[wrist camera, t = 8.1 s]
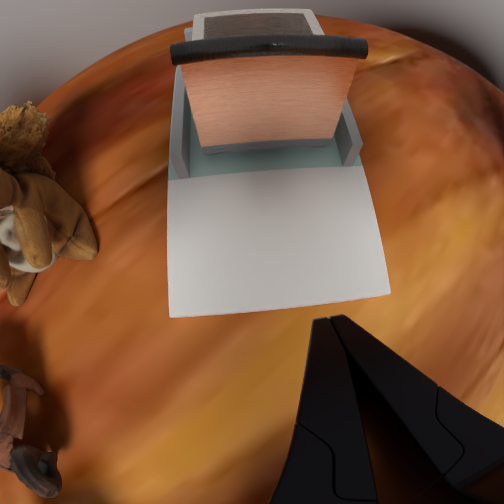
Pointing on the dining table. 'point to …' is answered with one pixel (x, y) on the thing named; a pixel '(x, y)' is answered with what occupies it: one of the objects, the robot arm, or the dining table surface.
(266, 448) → the dining table surface
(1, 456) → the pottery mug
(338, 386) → the robot arm
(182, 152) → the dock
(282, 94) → the open bin with handle
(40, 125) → the stuffed squirrel
